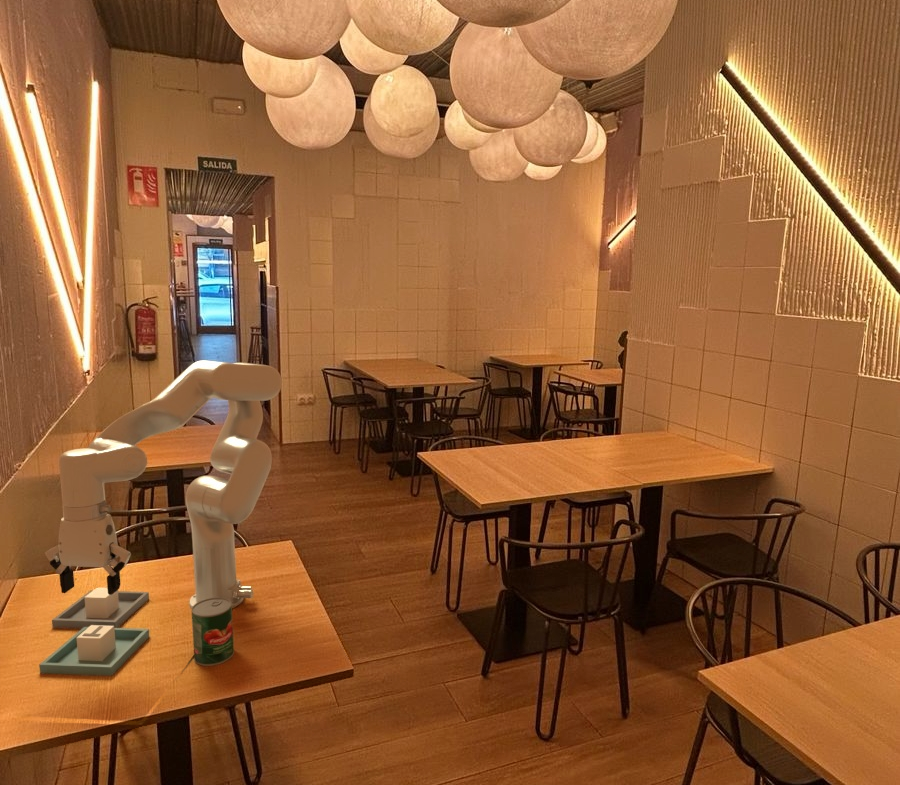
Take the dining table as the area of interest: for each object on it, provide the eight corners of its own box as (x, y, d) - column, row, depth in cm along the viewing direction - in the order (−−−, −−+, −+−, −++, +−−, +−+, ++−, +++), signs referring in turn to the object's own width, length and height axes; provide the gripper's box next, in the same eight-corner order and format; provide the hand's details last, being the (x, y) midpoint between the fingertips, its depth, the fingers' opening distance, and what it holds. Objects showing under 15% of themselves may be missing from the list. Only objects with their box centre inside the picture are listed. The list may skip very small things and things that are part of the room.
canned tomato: (220, 668, 131) (217, 617, 130) (186, 663, 133) (182, 613, 131) (241, 647, 139) (239, 599, 137) (208, 643, 141) (205, 595, 139)
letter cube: (115, 647, 138) (114, 625, 137) (102, 661, 133) (100, 637, 132) (93, 647, 138) (91, 624, 137) (78, 660, 133) (76, 637, 132)
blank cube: (119, 607, 155) (117, 588, 154) (107, 618, 150) (105, 597, 149) (98, 607, 155) (97, 587, 154) (86, 617, 150) (84, 597, 149)
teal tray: (149, 639, 142) (148, 628, 142) (111, 678, 128) (110, 667, 127) (85, 636, 143) (84, 626, 143) (40, 675, 129) (39, 664, 128)
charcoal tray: (149, 601, 159) (148, 592, 159) (115, 632, 145) (115, 622, 145) (91, 599, 160) (90, 590, 160) (52, 630, 146) (51, 620, 145)
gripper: (136, 505, 134) (141, 584, 136) (55, 503, 135) (61, 581, 137) (116, 518, 126) (121, 600, 129) (30, 515, 127) (37, 598, 130)
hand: (91, 590), depth 133 cm, fingers open, 9 cm apart
